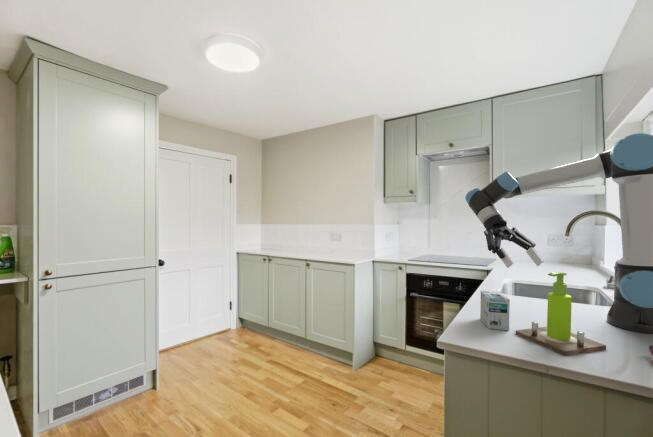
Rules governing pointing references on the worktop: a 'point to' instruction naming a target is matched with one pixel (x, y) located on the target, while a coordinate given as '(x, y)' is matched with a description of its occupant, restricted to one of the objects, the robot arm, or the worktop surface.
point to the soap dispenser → (559, 310)
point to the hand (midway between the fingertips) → (525, 264)
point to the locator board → (560, 341)
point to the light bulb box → (494, 310)
